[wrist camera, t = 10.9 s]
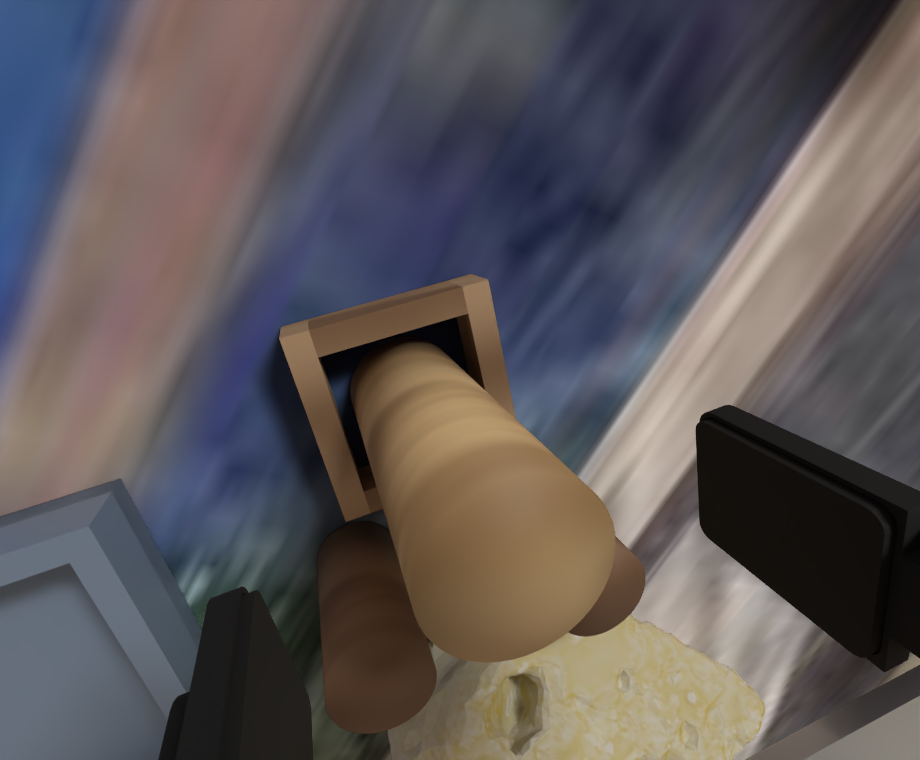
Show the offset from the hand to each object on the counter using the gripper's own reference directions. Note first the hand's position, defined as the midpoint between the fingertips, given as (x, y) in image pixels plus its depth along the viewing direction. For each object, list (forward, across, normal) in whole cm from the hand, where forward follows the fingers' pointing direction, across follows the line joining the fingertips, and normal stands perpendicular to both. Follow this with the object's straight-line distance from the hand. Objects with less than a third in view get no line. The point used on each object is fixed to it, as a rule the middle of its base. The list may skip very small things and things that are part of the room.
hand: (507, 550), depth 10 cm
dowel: (+12, 0, +1) cm, 12 cm away
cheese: (+12, -4, +14) cm, 19 cm away
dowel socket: (+12, 0, +1) cm, 12 cm away
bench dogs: (+12, 0, +8) cm, 14 cm away
